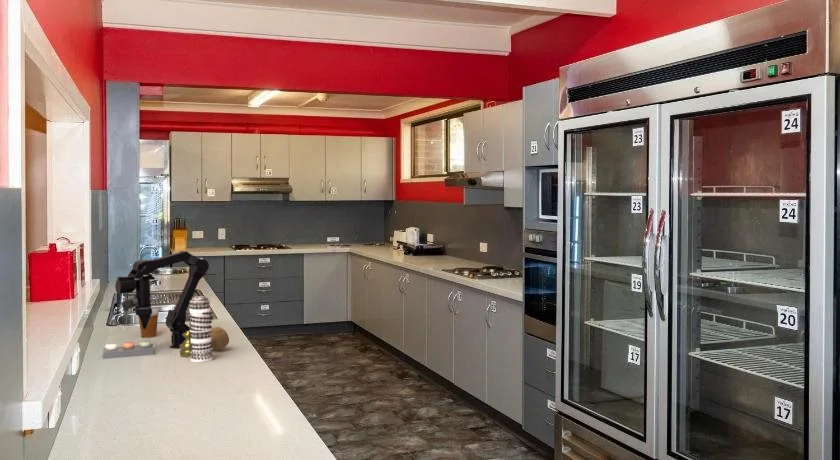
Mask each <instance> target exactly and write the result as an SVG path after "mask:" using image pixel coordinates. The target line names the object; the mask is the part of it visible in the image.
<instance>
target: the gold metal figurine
mask: <svg viewBox="0 0 840 460" xmlns="http://www.w3.org/2000/svg"><path fill="white" fill-rule="evenodd" d="M182 335H183V336H184V337H185V341H184V342H183V343H182V344H180V348H179V349H180V350H179V356H180V357H181V358H191V357H190V356H191V353H190V351H191V350H192V349H190V347H191V345H190V343H191V332H190V331H186V332H184V333H183V334H182Z"/></svg>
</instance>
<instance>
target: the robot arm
mask: <svg viewBox="0 0 840 460" xmlns="http://www.w3.org/2000/svg"><path fill="white" fill-rule="evenodd" d="M181 262H182V263H184V264H185V265H187V266H189V267H188V278H187V279H186V282H185V284H184V287H183V289H182V291H181V294H180V296H179V299H178V301H177V304H176V305H175V308H173V310H171V309H168V311H167V315H166V317H165V318H164V319H165V325H166V327H167V328H168V329H169V331H170V332H171V345H170V346H169V348H173V349H180V344H182V343H183V342H184V341H185V337H184V336H183V335H182V334H183V333H184V332H186V331H190V329H189V327H190V325H189V326H188V325H187V324H186V321H187V311H188V308H189V307H190V302H189V301H191V299H192V298H193V297H194V293H195V291H196V290H197V286H198V285H199V282H200V281H201V280H202V278H203V277H204V276H205V275H206V273H207V272H208V270H209V268H210V264H209V262H208V260H206V259H204V258H199V257H197V256H195V255H193V254H192V253H191V252H189V251H187V250H186V251H185V250H181V251H179V252H174V253H172V254H167V255H165V256H161V257H157V258H153V259H141V260H136V261H135V262H133V265H132V268H131V270H130V272H129V273H128V275H127V276H116V278H117V279H116V281H115V284H114V285H115V288H114V289H115V292H116V293H117V294H118V295H121V294H128V293H130V294H131V293H133V292H134V291H135V293H134V297H130V298H128V299H124V300H123V301H122V302H120V304H121V306H122V310H124V311H125V312H126V311H128V310H129V309H132V308H134V307H135V316H137V317H138V316H139V317H140V319H141V323H142V327H143V329H146V327H147V324H148V321H149V319H150V316H151V314H152V309H153V308H152V302H151V300H152V299H151V297H152V296H151V295H152V293H151V281H152V280H156V277H155V276H153V275H152V274H151V273H154V272H156V270H158V269H161V268H163V267H164V268H165V267H168V266H172V265H174V264H175V265H176V264H177V263H181Z"/></svg>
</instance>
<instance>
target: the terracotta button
mask: <svg viewBox="0 0 840 460" xmlns="http://www.w3.org/2000/svg"><path fill="white" fill-rule="evenodd" d="M134 346H135V342H134V341H125V342H123V343H122V347H123V349H132V348H134Z"/></svg>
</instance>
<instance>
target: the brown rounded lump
mask: <svg viewBox="0 0 840 460" xmlns="http://www.w3.org/2000/svg"><path fill="white" fill-rule="evenodd" d="M211 341H212V344H211V345H212V348H211V349H212V350H214V351H216V352H220V351H222V350H223V349H224V348H225V347H227V346H228V345H229V343H230V337H229V335H228V333H227V331H226V330H225V329H224V328H222V327H221V326H220V327H219V326H214V327H212V330H211Z"/></svg>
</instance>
